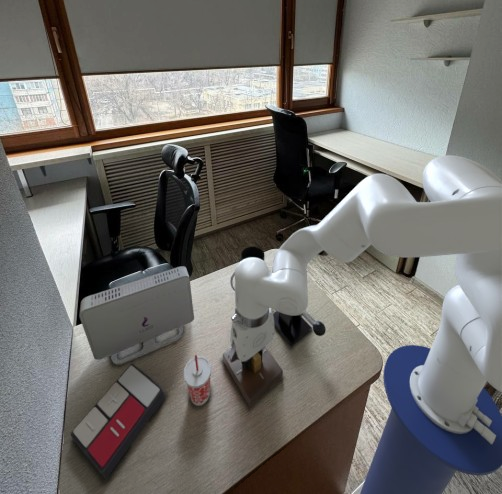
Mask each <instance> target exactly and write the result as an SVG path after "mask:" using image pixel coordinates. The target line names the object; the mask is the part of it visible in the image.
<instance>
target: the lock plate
mask: <svg viewBox="0 0 502 494" xmlns="http://www.w3.org/2000/svg"><path fill="white" fill-rule="evenodd" d="M266 347H267V346H265V348H264V349H263V355H262V361H261V369H259V370H258V371H257V372H256V373H255V372H254V371H253V369H252V368H251V370H250V371H248V369H247V368H246V367H245V368H244V367H243V365H242V363H241V361H240V360H238V359H237V360H236V361H234V362H230V360H229V358H228V356H229V353H230V351H231V348H232V347H230V348H229V349H227V350H226V351H224V352H223V353H222V362H223V364H224V365H225V367H226V369H227V370H228V372H229V374H230V375H231V377H232V379H233V381H234V382H235V384H236V386H237V387H238V389H239V391H240V393H241V395H242V396H243V398H244V400H245V401H246V404H247V405H248V407H252V406H253V405H254V404H255V403H256V402H257V401H258V400H259V399H261V398H262V397H263V396H264V395H265V394H267V392H269V390H270V389H272V388H273V387H274V386H275V385H276V384H277V383H278V382H279V381H280V380H282V379H283V375H284V373H283V372H284V370H283V369H282V367H281V366H280V364H278V362H277V361H276V359H275V358H274V357H273V355H272V354H271V352H270V351H269V349H267V348H266Z"/></svg>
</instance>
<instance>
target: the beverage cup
mask: <svg viewBox="0 0 502 494" xmlns="http://www.w3.org/2000/svg"><path fill="white" fill-rule="evenodd" d="M211 364H212V363H211V361H210V360H209V359H208V358H207V357H205V356H203V355H197V354H195V355H194V357H192V358H191V359H189V361H187V363H186V365H184V369H183V379H184V382H185V383H186V386H187V390H188V393H189V397H190V401H191V403H192V404H193V405H195V406H202V405H204V404H206V403H207V402H208V400H209V398H210V396H211V395H210V394H211V377H212V376H211V375H212V365H211Z"/></svg>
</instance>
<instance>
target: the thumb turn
mask: <svg viewBox="0 0 502 494" xmlns="http://www.w3.org/2000/svg"><path fill="white" fill-rule="evenodd" d="M251 368H252V369H253V371H254V372H255V373H256V372H257V371H258V370H259V369H261V356H260V354H259V353H258V352H257V353H256V354H255V355H254V356H252V357H251Z"/></svg>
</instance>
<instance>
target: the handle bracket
mask: <svg viewBox="0 0 502 494" xmlns="http://www.w3.org/2000/svg"><path fill="white" fill-rule="evenodd" d="M272 313H273V317H274V326H275V330H276V331H278V333H279V334H280V335H281V336H282V338H283V339H284V340H285V341H286V342H287V343H288V345H289V347H291V348H293V346H294V345H296V344H297V343H298V342H299V341H301V340H302V339H303V338H304V337H305V336H306V335H308V334H310V332H312V330H313V326H312V325H311V324H310V323H309V322H308V321H307V320H306V319H305V318H304V317H303V316H302V314H300V315H296V316H292V315H286V314H283V313H281V312H278V311H276V310H275V311H274V312H272ZM311 326H312V327H311Z"/></svg>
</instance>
